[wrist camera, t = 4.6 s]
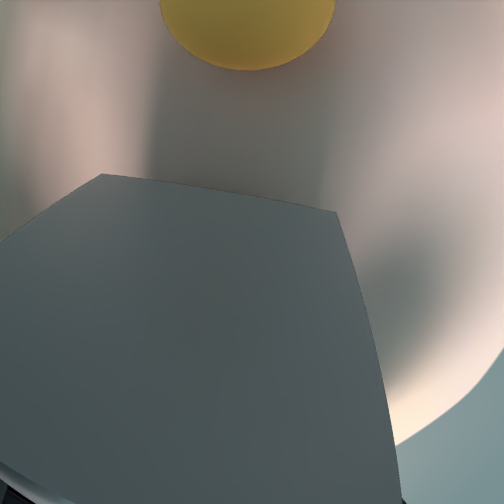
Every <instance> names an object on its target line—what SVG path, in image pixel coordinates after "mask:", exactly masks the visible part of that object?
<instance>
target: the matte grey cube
mask: <svg viewBox="0 0 504 504" xmlns="http://www.w3.org/2000/svg"><path fill="white" fill-rule="evenodd" d="M0 479H1V480H3V481H4V482H5V483H7V484H8V485H9V486H11V487H12V488H14V489H15V490H16V491H18V492H19V493H21V494H22V495H24V496H25V497H27V498H28V499H30V500H31V501H33V502H34V503H36V504H402V495H401V487H400V478H399V471H398V463H397V456H396V450H395V443H394V437H393V431H392V425H391V420H390V414H389V409H388V404H387V399H386V394H385V389H384V384H383V379H382V375H381V370H380V366H379V361H378V357H377V353H376V348H375V344H374V340H373V336H372V332H371V328H370V324H369V320H368V316H367V313H366V309H365V305H364V301H363V298H362V294H361V291H360V287H359V284H358V280H357V277H356V273H355V270H354V267H353V263H352V260H351V257H350V253H349V250H348V247H347V244H346V241H345V238H344V235H343V231H342V228H341V225H340V222H339V219H338V216H337V213H336V212H331V211H327V210H322V209H317V208H312V207H307V206H302V205H297V204H292V203H287V202H282V201H277V200H271V199H266V198H261V197H255V196H250V195H244V194H238V193H233V192H227V191H221V190H215V189H209V188H203V187H196V186H190V185H183V184H177V183H170V182H163V181H156V180H149V179H141V178H134V177H126V176H118V175H110V174H100V175H99V176H97V177H95V178H94V179H92V180H90V181H89V182H87V183H85V184H84V185H82V186H81V187H79V188H77V189H76V190H74V191H73V192H71V193H70V194H68V195H67V196H65V197H64V198H62V199H60V200H59V201H57V202H56V203H55V204H53V205H52V206H50V207H49V208H47V209H46V210H44V211H43V212H41V213H40V214H39V215H37V216H36V217H34V218H33V219H32V220H30V221H29V222H27V223H26V224H25V225H23V226H22V227H21V228H19V229H18V230H17V231H15V232H14V233H13V234H11V235H10V236H9V237H7V238H6V239H5V240H4V241H2V242H1V243H0Z"/></svg>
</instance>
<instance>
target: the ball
mask: <svg viewBox="0 0 504 504" xmlns="http://www.w3.org/2000/svg"><path fill="white" fill-rule="evenodd" d="M335 2H336V0H160V7H161V12H162V16H163V19H164V22H165V24H166V26H167V28H168V30H169V31H170V33H171V34H172V35H173V37H174V38H175V39H176V41H177V42H178V43H179V44H180V45H181V46H182V47H183V48H184V49H186V50H187V51H188V52H189V53H191V54H192V55H194V56H196V57H197V58H199V59H201V60H203V61H205V62H207V63H210V64H212V65H215V66H218V67H222V68H226V69H232V70H244V71H248V70H261V69H268V68H272V67H276V66H279V65H282V64H284V63H287V62H290V61H291V60H293V59H295V58H297V57H299V56H301V55H302V54H303V53H305V52H306V51H308V50H309V49H310V48H311V47H312V46H313V45H315V44H316V43H317V42H318V40H319V39H320V38H321V37H322V36H323V34H324V33H325V31H326V29H327V28H328V26H329V24H330V21H331V19H332V16H333V12H334V8H335Z"/></svg>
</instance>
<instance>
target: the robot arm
mask: <svg viewBox="0 0 504 504" xmlns="http://www.w3.org/2000/svg"><path fill="white" fill-rule="evenodd" d="M0 504H36V503H34V502H33V501H31V500H30V499H28V498H27V497H25V496H24V495H22V494H21V493H19V492H18V491H16V490H15V489H14V488H12V487H11V486H9V485H8V484H7V483H5V482H4V481H3V480H1V479H0ZM402 504H406V502H405V501H404V500H403V498H402Z"/></svg>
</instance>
